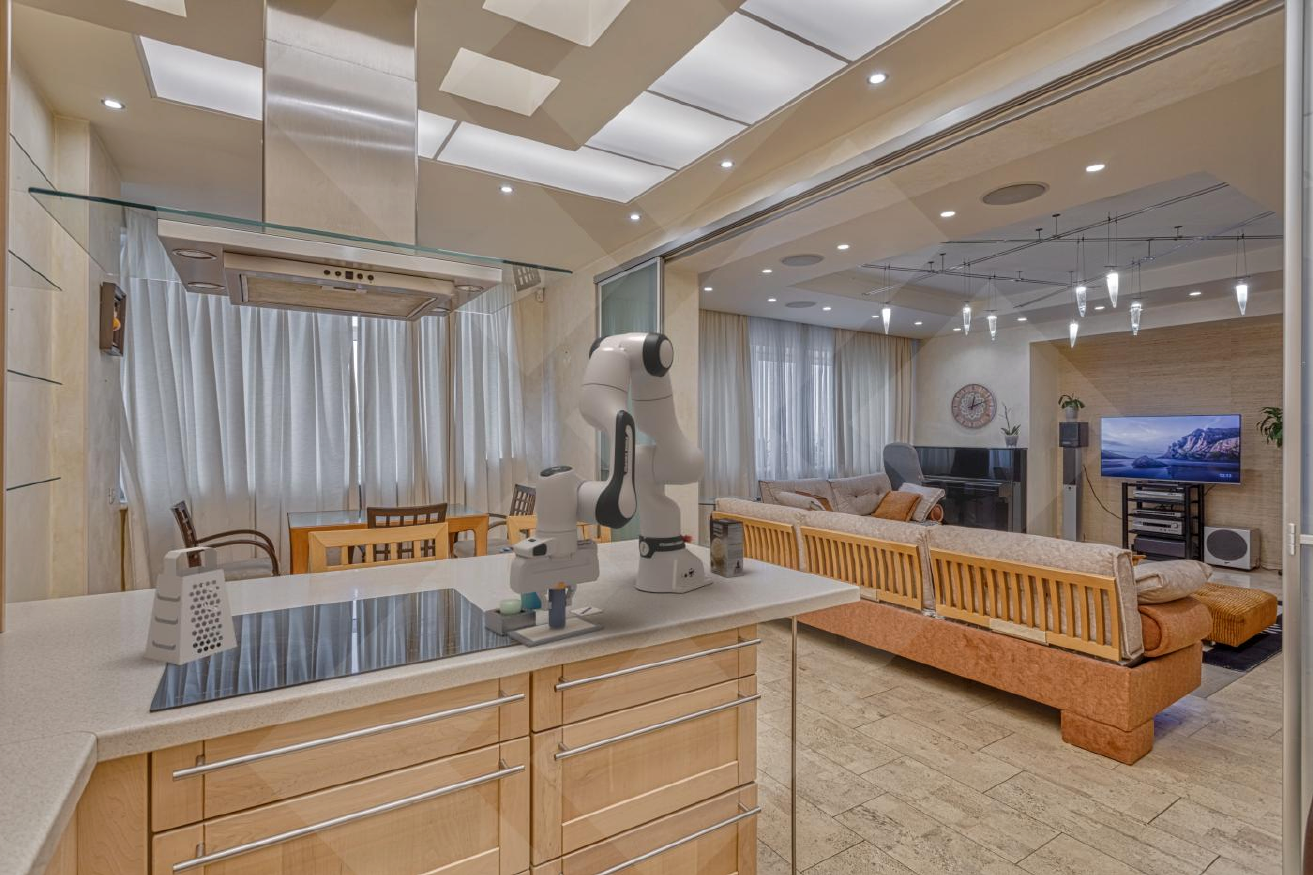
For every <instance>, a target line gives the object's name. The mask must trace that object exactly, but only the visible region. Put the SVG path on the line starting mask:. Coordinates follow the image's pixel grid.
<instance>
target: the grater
mask: <svg viewBox="0 0 1313 875" xmlns="http://www.w3.org/2000/svg"><path fill="white" fill-rule="evenodd" d="M201 550H204V566H202V565H198V566H193V567H187V568H182V569H177V559H178V557H180V555H181V554H182V553H187V552H193V551H201ZM217 555H218V553H217V550H215V549H214V548H213V547H209V546H193V547H188V548H181V549H175V550H169V551H168V552H167V553H166V554H165V556H164V557H163V572H159V573H157V579H156V585H155V591H154V598H153V604H152V610H151V614H150V615H151V617H150V622H149V628H148V634H147V640H146V646H145V653H144V658H145V659H149V660H154V661H159V662H163V663H168V664H174V665H178V666H181V665H184V664H188V663H190V662H194V661H196V660H200V659H203V658H205V657H209V656H212V655H211V654H213V655H215V654H214V653H216V654H218V652H219V653H222V652H225V651H228V650H230V649H234V648H237V647H238V643H237V639H236V633H235V629H234V622H233V617H232V616H233V615H232V611H231V605H230V599H229V595H228V594H229V593H228V589H227V585H226V584H227V583H226V580H225V579H226V578H225V577H226V576H225V572H224V569H223V568H218V565H217V564H218V562H217V560H218V559H217V557H218V556H217ZM211 588H212V590H211ZM205 605H206V606H205ZM209 608H211V609H209ZM214 608H217V609H214ZM213 629H214V630H213ZM201 642H203V645H200V644H201ZM207 642H208V643H207ZM194 644H197V646H196V647H194ZM217 644H220V646H217ZM212 645H214V647H213V648H211V646H212ZM206 647H207V648H208V649H207V650H204V648H206ZM199 649H201V652H198V650H199ZM227 649H228V650H227ZM224 650H225V651H224ZM221 651H222V652H221ZM199 658H200V659H199Z"/></svg>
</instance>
